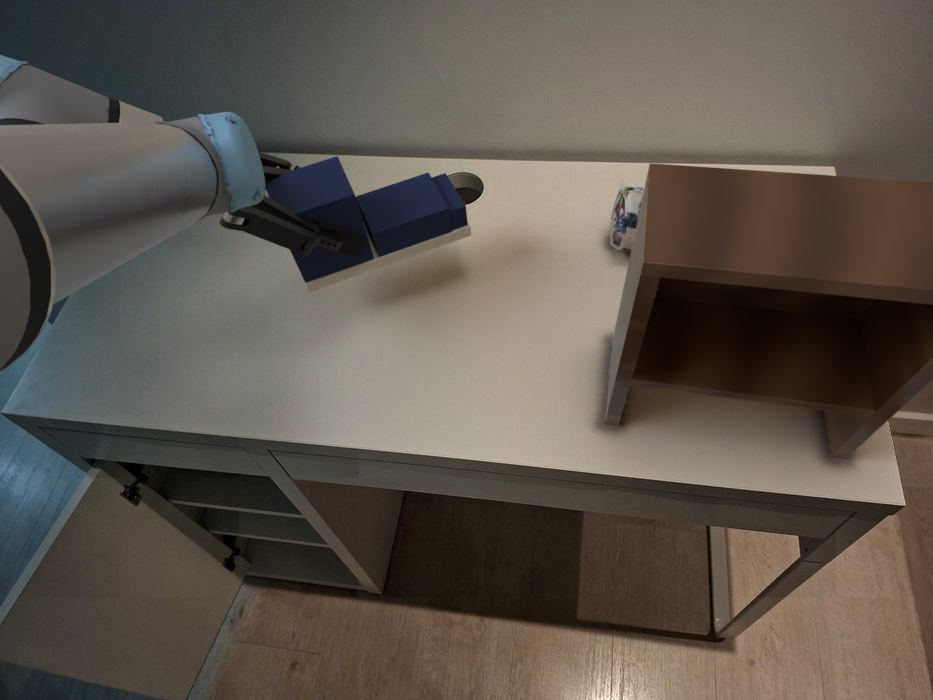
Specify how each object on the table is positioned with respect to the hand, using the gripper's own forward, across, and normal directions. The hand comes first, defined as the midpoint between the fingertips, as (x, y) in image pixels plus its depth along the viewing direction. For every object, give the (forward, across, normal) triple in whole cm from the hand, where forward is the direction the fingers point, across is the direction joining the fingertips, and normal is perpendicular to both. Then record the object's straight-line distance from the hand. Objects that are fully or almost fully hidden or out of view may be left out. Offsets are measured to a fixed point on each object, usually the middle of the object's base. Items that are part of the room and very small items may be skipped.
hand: (352, 225), depth 74 cm
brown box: (+33, +34, +14) cm, 49 cm away
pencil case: (+40, +12, +22) cm, 47 cm away
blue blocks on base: (+5, 0, -1) cm, 6 cm away
